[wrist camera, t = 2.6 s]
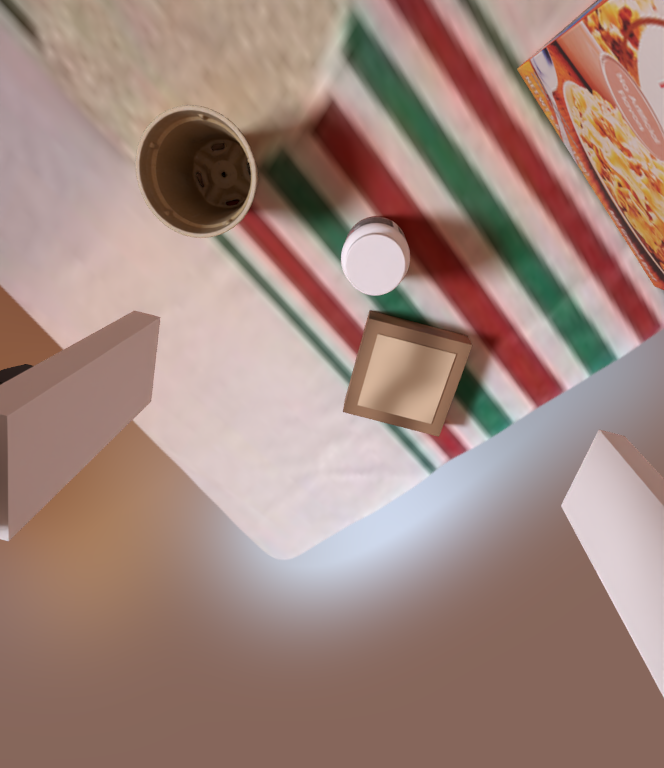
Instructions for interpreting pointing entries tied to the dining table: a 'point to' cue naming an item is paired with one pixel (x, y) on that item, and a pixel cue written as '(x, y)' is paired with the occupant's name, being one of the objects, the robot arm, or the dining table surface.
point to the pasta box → (612, 113)
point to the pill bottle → (375, 256)
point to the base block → (406, 373)
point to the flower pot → (195, 171)
